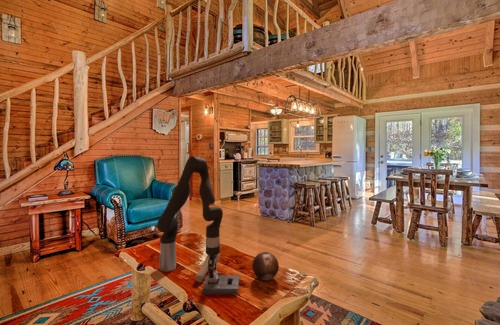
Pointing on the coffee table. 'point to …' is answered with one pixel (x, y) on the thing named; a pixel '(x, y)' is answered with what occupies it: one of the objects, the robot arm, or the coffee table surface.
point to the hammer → (203, 270)
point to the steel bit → (214, 278)
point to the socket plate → (222, 285)
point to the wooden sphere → (265, 266)
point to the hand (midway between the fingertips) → (212, 273)
